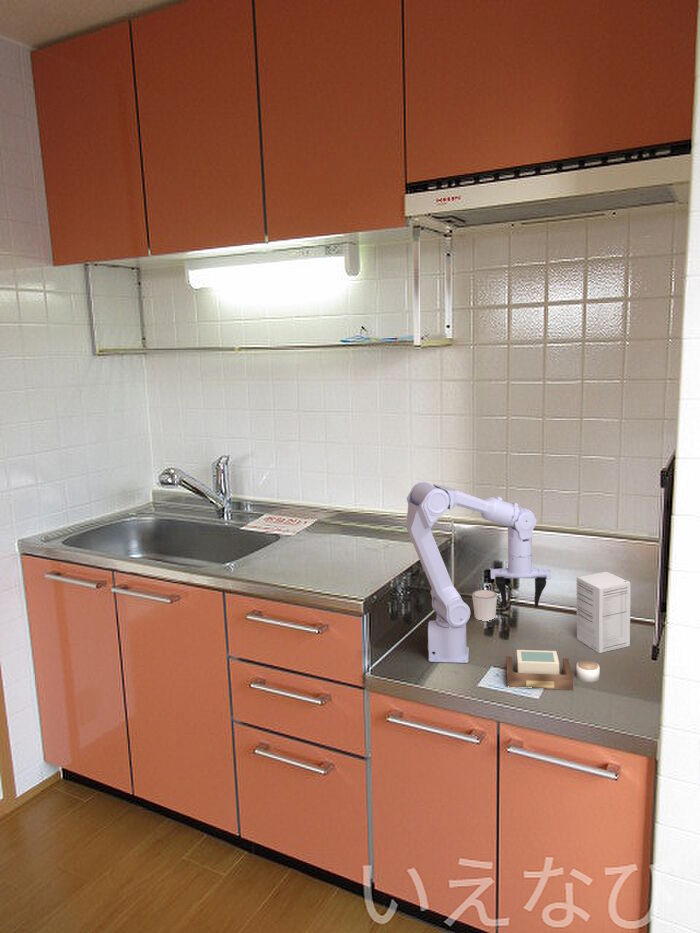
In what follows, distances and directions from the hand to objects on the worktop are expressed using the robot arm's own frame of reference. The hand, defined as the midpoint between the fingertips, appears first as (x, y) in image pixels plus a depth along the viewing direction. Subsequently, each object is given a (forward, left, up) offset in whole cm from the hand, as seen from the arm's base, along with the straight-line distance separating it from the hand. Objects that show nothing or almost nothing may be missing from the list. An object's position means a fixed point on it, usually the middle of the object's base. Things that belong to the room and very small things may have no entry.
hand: (520, 605), depth 175 cm
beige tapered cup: (-9, +15, -10) cm, 20 cm away
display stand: (+3, -19, -10) cm, 22 cm away
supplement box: (+20, +1, -10) cm, 22 cm away
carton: (+3, -17, -10) cm, 20 cm away
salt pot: (+14, -17, -10) cm, 24 cm away
